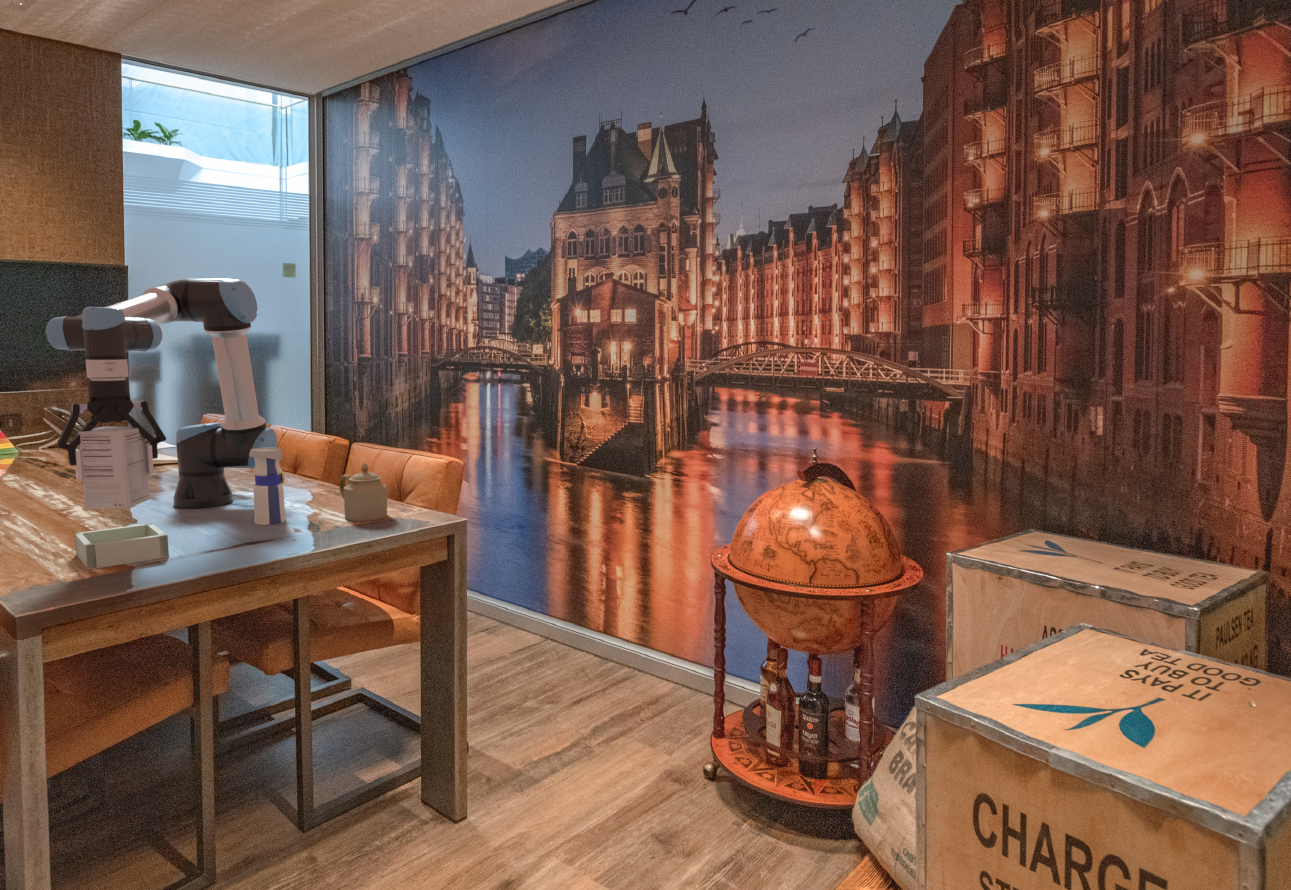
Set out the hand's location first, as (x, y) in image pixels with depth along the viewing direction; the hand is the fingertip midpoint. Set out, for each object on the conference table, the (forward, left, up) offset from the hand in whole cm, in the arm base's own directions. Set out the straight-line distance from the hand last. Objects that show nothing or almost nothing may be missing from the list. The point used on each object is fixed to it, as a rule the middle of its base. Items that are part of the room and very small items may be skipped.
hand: (115, 476), depth 177 cm
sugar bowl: (-56, -4, -18) cm, 59 cm away
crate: (0, 0, -18) cm, 18 cm away
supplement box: (0, 0, -6) cm, 6 cm away
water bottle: (-36, -14, -18) cm, 43 cm away
